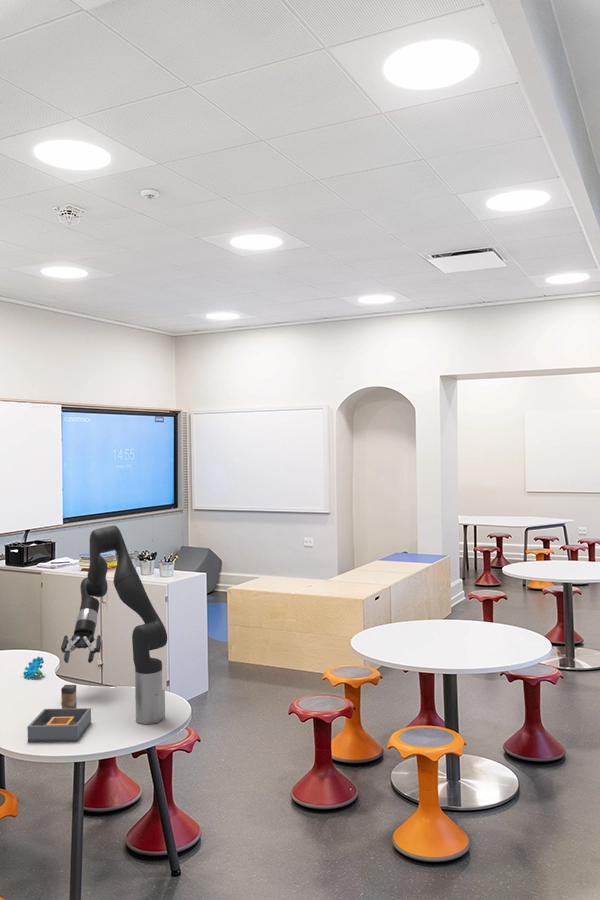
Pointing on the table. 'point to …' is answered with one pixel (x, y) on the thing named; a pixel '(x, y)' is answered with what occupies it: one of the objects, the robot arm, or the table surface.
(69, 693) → the plug
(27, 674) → the blue lumpy cluster
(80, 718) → the box
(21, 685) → the table surface
